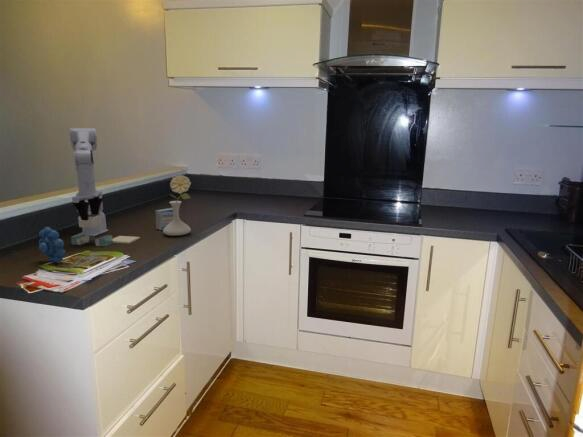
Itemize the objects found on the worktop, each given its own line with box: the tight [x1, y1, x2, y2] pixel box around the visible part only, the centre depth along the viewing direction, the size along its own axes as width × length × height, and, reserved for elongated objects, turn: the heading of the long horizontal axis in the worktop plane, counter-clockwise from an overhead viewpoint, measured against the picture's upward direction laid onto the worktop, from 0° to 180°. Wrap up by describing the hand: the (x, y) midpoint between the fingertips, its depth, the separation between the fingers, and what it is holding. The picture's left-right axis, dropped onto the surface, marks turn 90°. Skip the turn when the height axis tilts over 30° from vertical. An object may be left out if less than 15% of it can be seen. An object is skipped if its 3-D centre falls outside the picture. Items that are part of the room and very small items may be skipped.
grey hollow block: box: [77, 214, 102, 228], centre depth 162 cm, size 6×6×4 cm
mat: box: [112, 235, 141, 245], centre depth 169 cm, size 8×9×1 cm
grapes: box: [38, 226, 66, 263], centre depth 139 cm, size 12×7×12 cm, turn 62°
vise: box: [70, 233, 114, 247], centre depth 163 cm, size 5×14×3 cm, turn 79°
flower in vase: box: [162, 174, 192, 237], centre depth 175 cm, size 13×11×25 cm
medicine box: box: [154, 207, 173, 231], centre depth 187 cm, size 8×4×9 cm, turn 137°
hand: (89, 218), depth 161 cm, fingers closed on grey hollow block, 6 cm apart
